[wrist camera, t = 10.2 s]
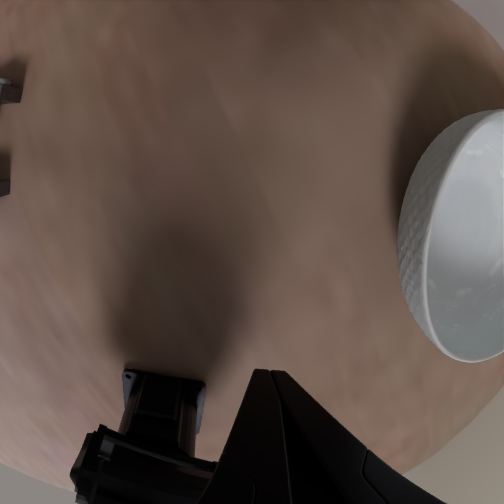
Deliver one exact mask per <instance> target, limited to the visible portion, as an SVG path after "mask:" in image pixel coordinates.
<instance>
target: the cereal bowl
mask: <svg viewBox="0 0 504 504" xmlns="http://www.w3.org/2000/svg"><path fill="white" fill-rule="evenodd" d="M397 243H398V245H397V253H398V258H397V259H398V268H399V278H400V281H401V288H402V290H403V292H404V297H405V300H406V302H407V304H408V307H409V310H410V311H411V313H412V314H413V317H414V319H415V320H416V321H417V323H418V325H419V327H420V328H421V329H422V330H423V331H424V333H425V335H426V336H428V337H429V339H430V340H431V342H433V343H434V344H435V345H436V346H437V348H439V349H440V350H441V351H442V352H443V353H444V354H446V355H447V356H449V357H451V358H453V359H455V360H459V361H462V362H480V361H484V360H487V359H490V358H492V357H495V356H497V355H499V354H500V353H502V352H504V109H496V110H487V111H480V112H478V113H473V114H470V115H468V116H465V117H463V118H461V119H460V120H458V121H456V122H453V123H452V124H451V125H450V126H448V127H446V128H445V129H444V130H443V131H442V132H441V133H440V134H439V135H438V136H437V137H436V138H435V139H434V141H433V142H432V143H430V145H429V146H428V147H427V149H426V151H425V152H424V153H423V154H422V156H421V159H420V160H419V161H418V163H417V166H416V167H415V169H414V172H413V173H412V175H411V179H410V180H409V184H408V187H407V189H406V193H405V196H404V199H403V204H402V207H401V213H400V219H399V227H398V238H397Z"/></svg>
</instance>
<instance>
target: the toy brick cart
mask: <svg viewBox="0 0 504 504" xmlns="http://www.w3.org/2000/svg"><path fill="white" fill-rule="evenodd" d="M12 81H13V80H12V79H8V78H0V104H9V103H20V99H21V94H22V89H21V88H16V87H12ZM9 192H10V180H2V179H0V197H2V196H5V195H8V194H9Z"/></svg>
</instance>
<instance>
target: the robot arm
mask: <svg viewBox="0 0 504 504" xmlns="http://www.w3.org/2000/svg"><path fill="white" fill-rule="evenodd" d="M127 374H129V375H131V376H129V375H127ZM122 379H123V393H124V404H125V410H124V414H123V417H122V420H121V423H120V427H119V430H118V432H116V431H113V430H111V429H109V428H107V426H105V425H102V424H100V425H99V428H98V430H97V432H96V431H94V432H93V433H87V435H86V438H85V440H84V443H83V446H82V448H81V451H80V453H79V455H78V457H77V459H76V461H75V463H74V465H73V467H72V469H71V472H70V478H71V480H72V481H73V483H74V485H75V492H77V495H76V501H75V502H76V503H78V504H446V503H444V502H443V501H441V500H439V499H438V498H436V497H434V496H433V495H431V494H430V493H428V492H426V491H425V490H423V489H422V488H420V487H418V486H417V485H415V484H414V483H412V482H411V481H409V480H408V479H406V478H405V477H403V476H402V475H401V474H399V473H398V472H396V471H395V470H394V469H392V468H391V467H390V466H389V465H387V464H386V463H385V462H384V461H382V460H381V459H380V458H379V457H378V456H376V455H375V454H374V453H373V452H372V451H371V450H369V449H368V450H367V447H366V446H365V445H364V444H363V443H361V442H360V441H359V440H358V439H357V438H356V437H355V436H354V435H352V434H351V433H350V432H349V431H348V430H347V429H346V428H345V427H344V426H343V425H341V424H340V423H339V422H338V421H337V420H336V419H335V418H334V417H333V416H332V415H331V414H330V413H329V412H327V411H326V410H325V409H324V408H323V407H322V406H321V405H320V404H319V403H318V402H317V401H316V400H315V399H314V398H313V397H312V396H311V395H310V394H308V393H307V392H306V391H305V390H304V389H303V388H302V387H301V386H300V385H299V384H298V383H297V382H296V381H295V380H294V379H293V378H292V377H291V376H290V375H289V374H288V373H287V372H286V371H280V370H271V371H269V370H267V369H254V371H253V373H252V376H251V379H250V382H249V384H248V387H247V390H246V392H245V395H244V398H243V400H242V403H241V406H240V408H239V411H238V414H237V416H236V419H235V421H234V424H233V427H232V429H231V432H230V434H229V437H228V439H227V442H226V444H225V447H224V449H223V452H222V454H221V456H220V459H219V461H218V462H216V461H213V462H211V461H207V460H203V459H199V458H195V440H196V434H198V433H199V430H200V423H201V416H202V410H203V403H204V396H205V390H206V385H205V383H204V382H202V381H197V380H190V379H184V378H177V377H171V376H165V375H159V374H154V373H148V372H143V371H138V370H133V369H125V370H124V371H123V374H122ZM198 386H199V387H201V388H198Z"/></svg>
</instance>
